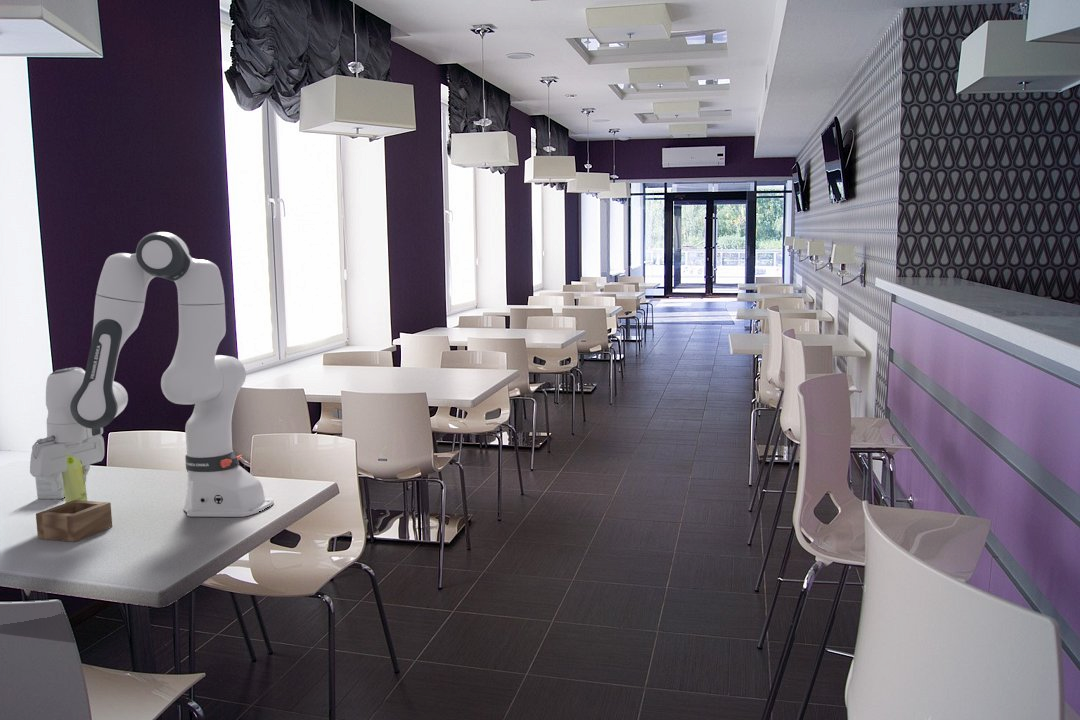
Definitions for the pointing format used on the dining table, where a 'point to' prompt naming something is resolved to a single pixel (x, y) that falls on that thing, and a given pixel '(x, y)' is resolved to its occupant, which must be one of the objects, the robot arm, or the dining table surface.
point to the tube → (74, 480)
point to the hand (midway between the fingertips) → (69, 486)
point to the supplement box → (48, 488)
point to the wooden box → (74, 520)
